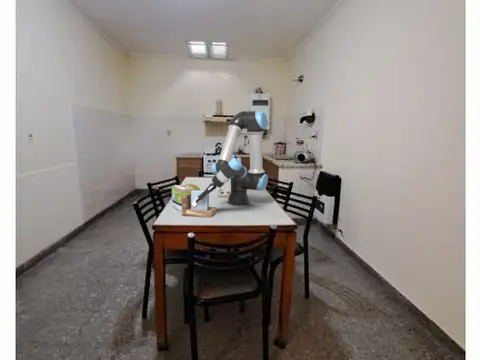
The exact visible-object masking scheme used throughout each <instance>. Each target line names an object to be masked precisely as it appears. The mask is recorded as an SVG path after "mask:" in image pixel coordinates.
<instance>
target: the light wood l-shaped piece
mask: <svg viewBox="0 0 480 360" xmlns="http://www.w3.org/2000/svg"><path fill="white" fill-rule="evenodd" d="M216 214H217V207H216V206H215V207H214V206H209V210H195V209H191V193H187V194H185V195H183V196H182V211H181V216H182V217H197V218H207V219H208V218H212V217H213V216H214V215H216Z"/></svg>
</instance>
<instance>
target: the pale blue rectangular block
mask: <svg viewBox="0 0 480 360" xmlns="http://www.w3.org/2000/svg"><path fill="white" fill-rule="evenodd" d="M200 190H201V189H200ZM200 190H193V191H191V209H195V210H209V207H210V193H208V194H207V195H206V196H205V197H204V198H203V199H202V200H201V201H200V202H199V203H198V204H197V205H196V206H195V207H194V206H193V205H192V203H193V202H194V201H195V200H196V199H197V198H198V196H200V195H201V194H202V193H203V192H204V191H205V190H201V191H200Z"/></svg>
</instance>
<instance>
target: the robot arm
mask: <svg viewBox="0 0 480 360" xmlns="http://www.w3.org/2000/svg"><path fill="white" fill-rule="evenodd" d="M268 123H269V122H268V117H267V115H266V113H265V112H264V111H260V110H256V111H255V110H253V111H252V110H249V111H245V110H244V111H243V110H242V111H239V112H238V113H237V114H235V115H234V116H233V117H232V119H231V120H230V121H229V124H228V125H227V126H228V127H227V129H228V130H227V134H226V137H225V139H224V142H223V145H222V147H221V150H220V151H221V152H220V153H219V157H218V160H217V161H216V162H215V163H212V165H211V168H210V169H211V174H212V175H214V176H213V177H212V178H211V181H212V182H211V183H210V184H209V185H208V186H207V187H206V189H205V190H203V191H204V192H203V193H202V194H201V195H200V196H198V198H197V199H196V200H195V201H194V202H193V203H192V205H193V206H194V207H195V206H196V205H197V204H198V203H199V202H200V201H201V200H202V199H203V198H204V197H205V196H206V195H207V194H208V193H209V194H211V193H212V192H213V191H215V190H216V189H217V188H220V189H221V188H222V187H223V186H224V185H225V184H226V183H227V182H230V192H229V195H228V199H227V203H228V204H230V205H234V206H235V205H236V206H245V205H248V204H249V203H250V200H249V196H248V190H251V191H257V192H259V191H260V192H261V191H265V189H266V187H267V186H268V181H269V176H268V174H266V173H265V172H266V171H265V170H264V168H263V134H264V132H265V130H266V129H267V127H268ZM245 129H246V133H248V136H249V170H247V167H246V166H245V165H243V164H242V162H241V161H240V160H239V159H237V158H236V157H232V156H233V153H234V150H235V147H236V144H237V142H238V138H239V136H240V134H241V133H242V131H243V130H245Z"/></svg>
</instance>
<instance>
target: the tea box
mask: <svg viewBox="0 0 480 360" xmlns="http://www.w3.org/2000/svg"><path fill="white" fill-rule="evenodd" d="M193 190H194V188H192V187H190V186H187V185H186V184H178V185H171V207H172V208H174V209H176V210H177V211H180V212H182V196H183V195H185V194H187V193H191V191H193Z"/></svg>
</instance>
